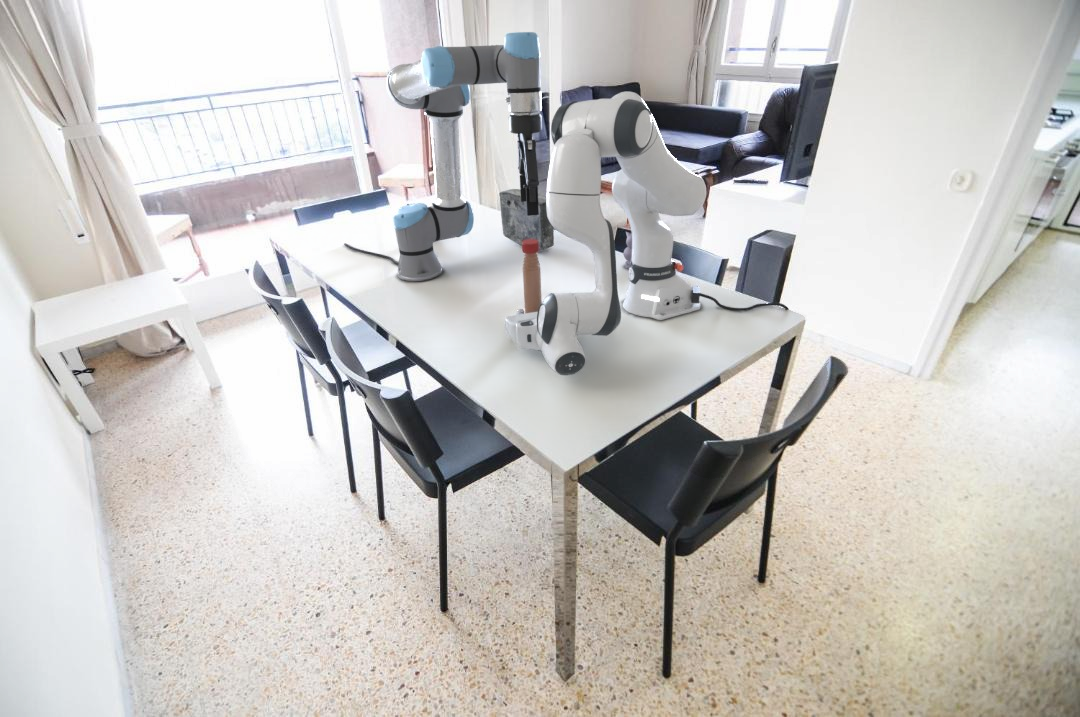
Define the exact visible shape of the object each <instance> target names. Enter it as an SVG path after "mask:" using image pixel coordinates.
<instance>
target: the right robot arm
mask: <svg viewBox="0 0 1080 717" xmlns="http://www.w3.org/2000/svg"><path fill="white" fill-rule="evenodd" d="M550 134H551V140H552V143H553V148H552V152H551V158H550V160H549V167H548V173H547V182H546V194H545V196H546V211H547V217H548V219H549V221H550V223H551V225H552V226H553V227H554V230H555V231H557V232H558V233H560V234H561V235H563V236H565V237H567V238H569V239H571V240H574V241H576V242H578V243H580V244H583V245H585V246H586V247H587V248H588V249H589V250H590V252H591V253H592V256H593V264H594V279H595V280H594V281H595V289H594V290H593V291H591V292H551V293H549V294H548V295H546V296H545V297H544V299H542V303H541V304H540V306H539V308H538V312H532V313H525V309H523V308H519V309H517V310H516V314H512V315H507V316H506V317H505V318H504V320H503V322H504V329H505V333H506V334H507V336H508V337H509V338H510V340H511V341H513V342H515V343H516V346H517V348H518V349H519V350H534V351H541V353H542V356H543V358H544V360H545V361H546V363H547V364H548V366H549V367H550V368H551V369H552V371H554V372H555V373H556V374H557V375H560V376H572V375H575V374H576V373H579V372H580V371H581V370H582V369H583V368H584V366H585V365H586V360H587V358H586V354H585V352H584V349H583V347H582V345H581V343H580V341H579V340H578V337H577V336H590V335H591V336H603V337H604V336H605V337H607V336H609V335H610V334H612V333H613V332H614V331H615V330H616V329H617V327H618V326H620V323H621V318H622V310H621V303H620V298H619V291H618V276H617V275H618V273H617V258H616V256H617V255H616V243H615V235H614V234H615V233H614V229H613V226H612V224H611V222H610V221H609V220H608V219H606V218H605V216H604V214H603V211H602V207H601V188H602V163H601V161H602V158H616V161H617V162H618V164H619V166H620V169H619V171H618V172H617V173H616V174H615V176H614V178H613V179H612V180H613V181H612V184H611V193H612V197H613V199H614V202H616V204H618V205H619V207H620V208H621V209H622V211H623V212H624V214H625V216H626V218H627V220H628V223H629V227H630V233H631V234H632V259H631V260H630V265H629V269H628V285H627V290H626V295H625V297H624V301H623V302H622V307H623V309H624V310H625V311H626V312H627V313H630V314H632V315H635V316H639V317H646V318H651V319H654V320H656V321H663V320H666V319H670V318H674V317H677V316H681V315H686V314H688V313H692V312H696V311H699V310H701V302H700V297H702V298H704V299H708V300H711V301H713V302H714V303H715V305H717V306H718V307H720V308H721V309H724V310H728V311H735V312H737V311H738V312H745V311H751V310H753V309H756V308H759V307H770V306H777V307H781V308H783V309H784V310H786V311H789V310H790V309H789V307H788V306H786V305H785V304H783V303H781V302H766V303H768V304H766V303H765V302H763V303H757V304H753V305H750V306H748V307H732V306H727V305H724V304H722V303H720V302H719V301H718V300H717V299H716V298H714V297H713V296H711V295H709V294H705V293H701V289H700V286H699V285H691V283H690V282H688V281H687V280H686V279H685V278H684V277H683V276H682V275H680V274H679V273H680V272H682V271H683V270H684V267H685V266H684V265H683V264H681V263H680V262H676V261H675V260H673V258H672V257H673V249H674V241H675V240H674V239H675V238H674V233H673V232H672V230H671V229H670V227H668V226H667V225H666V224H665V223H664V222H663V220H662V219H661V216H660V214H661V215H665V216H671V217H686V216H694V215H696V213H697V212H699V211H700V209H701V208H702V207H703V205H704V204H705V201H706V198H707V185H706V183H705V180H704V179H703V178H702V176H700V175H698V174H695V173H694V172H692V171H691V170H689V169H688V168H686V167H685V166H684V165H683V164H681V162H680V161H678V160H677V158H675V156H673V155H672V154H671V152H670V151H669V150H668V148H667V146H666V145H665V142H664V140H663V138H662V135H661V133H660V130H659V127H658V124H657V121H656V120H655V117H654V116H653V114H652V112H651V110H650V108H649V106H648V105H647V103H646V102H645V100H644V99H643V98H642V97H641V96H640V95H639V93H637V92H633V91H630V90H629V91H621V92H619V93H617V94H615V95H613V96H612V97H611V98H598V99H589V100H583V101H577V100H574V101H569V102H567V103H563V104H561V105H560V106H559V107H558V108H557V109H556V112H555V113H554V115H553V117H552V120H551V125H550ZM676 271H677V272H676ZM678 272H679V273H678Z"/></svg>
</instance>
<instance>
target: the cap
mask: <svg viewBox="0 0 1080 717" xmlns="http://www.w3.org/2000/svg"><path fill="white" fill-rule="evenodd" d="M521 249H522V253H524V254H525V253H526V254H534V253H536V254H538V253H539V252H540V250H539V243H538V240H536V239H526V240H523V241H522V246H521Z"/></svg>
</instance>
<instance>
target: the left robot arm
mask: <svg viewBox="0 0 1080 717" xmlns="http://www.w3.org/2000/svg"><path fill="white" fill-rule="evenodd" d="M539 39H540V38H539V35H538V33H536V32H534V31H518V32H517V31H516V32H508V33H506V34H505V35H504V38H503V44H494V45H493V44H491V45H467V46H442V45H439V46H434V47H427V48H425V49H424V50H423V51H422V55H421V57H420V59H419V60H417V61H414V62H413V63H402V64H398V65H396V66H394V67H393V68H391V69H390V70H389V72H388V75H387V77H386V80H385V81H386V82H385V83H386V84H385V85H386V86H385V87H386V90H387V93H388V95H389V97H390V98H391V99H392V101H393V102H394V103H396V104H397V105H399V106H400V107H402V108H405V109H408V110H424V115H425V116H426V117H427V118H428V119H429V123H430V124H429V126H430V137H431V149H432V150H431V151H432V162H433V174H434V187H435V195H434V196H433V197H432V198H431V206H428V205H427V204H426V203H424V202H423V203H422V202H417V203H409V205H407V204H406V205H403V206H401V207H399V208H397V209H396V210H395V211H394V213H393V215H392V219H393V228H394V230H395V231H394V232H395V236H396V241H397V247H398V251H399V259H398V261H397V260H396V259H394V258H393V257H391V256H389V255H385V254H381V253H377V252H372V251H368V250H364V249H361V248H356V247H354V246H352V245H350V244H348V243H343V245H344V246H345V247H347V248H348V249H350V250H352V251H355V252H359V253H362V254H366V255H371V256H375V257H380V258H384V259H388V260H390V261H391V262H393V264H395V265H397V276H398V278H399V279H400V280H402V281H406V282H413V283H414V282H425V281H429V280H432V279H435V278H438V277H439V276H440V275H441V274H442V273H443V268H442V264H441V263H440V260H439V259H438V257H439V256H438V253H436V252H435V250H434V243H435V242H440V241H444V240H445V241H446V240H449V239H455V238H460V237H463V236H466V235H469V233H470V232H471V231H472V230H473V226H474V219H475V218H474V217H475V216H474V212H473V207H472V205H471V203H470V202H469V201H468V200H467V198H466V197H465V196H464V195H463V194H462V193H463V192H462V191H463V190H462V170H461V149H460V148H461V146H460V127H459V120H460V119H461V118H462V116H463V115H464V107H466V106H467V105H469V103H470V99H471V90H470V86H473V85H475V86H476V85H489V84H491V85H492V84H506V91H507V97H505V100H504V101H505V103H507V105H508V106H507V108H508V112H509V113H511V114H510V115H509V116H508V125H509V126H508V127H509V128H508V129H509V132H510V133H511V134H513V135H515V134H516V135H517V138H518V139H517V142H516V145H517V153H518V156H517V157H518V166H517V169H518V173H519V189H520V192H521V202H525V201H526V202H527V216H531V215H539V208H538V194H539V185H540V181H539V172H538V171H539V170H538V161H537V141H536V139H534V138H533V134H538V133H541V132H542V131H543V116H542V114H541V113H540V112H541V111H542V109H543V106H542V90H541V88H542V86H541V85H542V83H541V82H542V81H541V80H542V79H541V78H542V77H541V51H540V40H539ZM469 85H470V86H469Z"/></svg>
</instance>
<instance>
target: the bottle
mask: <svg viewBox="0 0 1080 717" xmlns="http://www.w3.org/2000/svg"><path fill="white" fill-rule="evenodd" d="M522 262H523V263H522V282H523V300H524V314H525V313H532V312H538V308H539V306H540V304H541V303H542V302H543V299H542V278H541V277H542V276H541V263H540V260H539V256H538V253H534V254H526V253H524V256H523V261H522Z"/></svg>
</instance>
